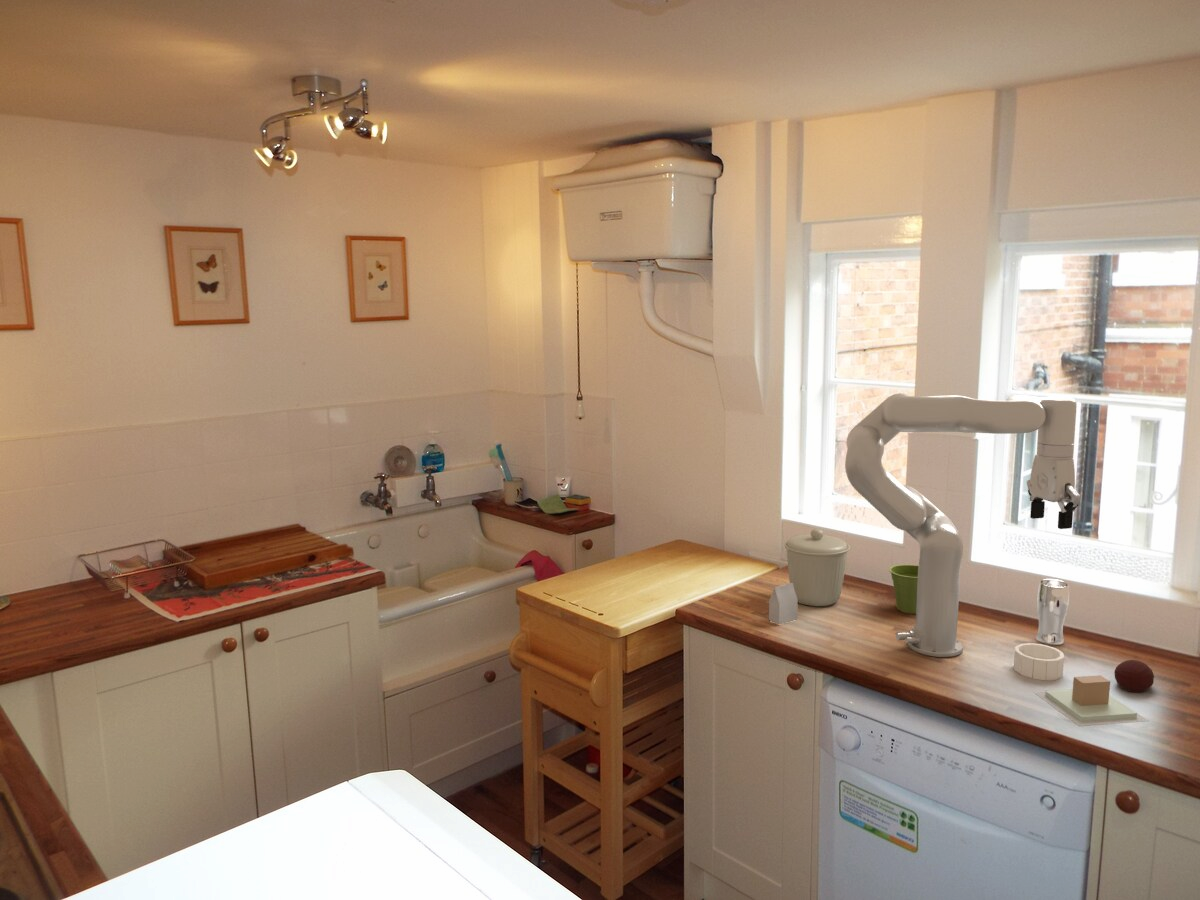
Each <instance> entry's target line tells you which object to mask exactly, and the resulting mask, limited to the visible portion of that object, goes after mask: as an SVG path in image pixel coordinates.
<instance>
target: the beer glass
mask: <svg viewBox="0 0 1200 900" xmlns="http://www.w3.org/2000/svg"><path fill="white" fill-rule="evenodd" d="M1036 597H1037V598H1036V606H1037V607H1036V609H1037V616H1038V630H1037V633H1036V637H1035V639H1036V641H1037V642H1039V643H1040V644H1041V643H1042V644H1043V645H1047V646H1061V645H1062V644H1064V641H1065V640H1064V632H1063V629H1064V624H1065V621H1066V617H1067V613H1068V610H1069V603H1070V584H1069V582H1066V581H1064V580H1061V579H1055V578H1043V579H1040V580H1039V584H1038V588H1037V595H1036Z"/></svg>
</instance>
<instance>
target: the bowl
mask: <svg viewBox="0 0 1200 900" xmlns="http://www.w3.org/2000/svg"><path fill="white" fill-rule="evenodd" d="M1013 656H1014V659H1013V670H1014V671H1016V672H1017V673H1019V674H1020V675H1021V676H1024V677H1028V678H1030V679H1034V680H1035V679H1036V680H1041V681H1054V680H1055V681H1056V680H1059V679H1060V678H1062V677H1063V676H1064V664H1065V654H1064V652H1063V651H1062V650H1059V649H1058V648H1056V647H1052V646H1051V645H1048V644H1043V643H1042V644H1041V643H1032V642H1027V643H1020V644H1018V645H1015V647H1014V655H1013Z"/></svg>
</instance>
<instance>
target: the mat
mask: <svg viewBox="0 0 1200 900" xmlns="http://www.w3.org/2000/svg"><path fill="white" fill-rule="evenodd" d="M1034 694H1035V695H1036V696H1038V697H1039V698H1040V699H1041V700H1042V701H1045V702H1046V703H1047V704H1048V705H1050V706H1051V707H1053V708H1054V709H1056V710H1057V711H1058V712H1059V713H1060V714H1062V715H1063V716H1065V717H1066V718H1068V719H1069V720H1071V722H1073V723H1074V724H1076V725H1077V726H1078V727H1084V726H1087V727H1088V726H1097V725H1098V726H1100V725H1114V724H1127V723H1139V722H1149V720H1148V719H1147V718H1145V717H1144V716H1142V715H1141V714H1140V713H1138V712H1136V713H1137V718H1127V719H1113V720H1100V721H1086V722H1081V721H1080V720H1078V719H1077V718H1075V717H1074V716H1073V715H1071V714H1070V713H1069V712H1067V711H1066V710H1064V709H1063V708H1062V707H1060V706H1059V705H1058V704H1056V703H1055V702H1053V701H1052V700H1051V699H1049V698H1048V697H1047V696H1045V691H1042V692H1034ZM1127 707H1128V708H1130V707H1129V706H1127Z"/></svg>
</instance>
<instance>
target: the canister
mask: <svg viewBox="0 0 1200 900" xmlns="http://www.w3.org/2000/svg"><path fill="white" fill-rule="evenodd" d="M783 546H784V548H785V550H786V559H787V560H786V561H787V570H788V579H789V583H793V586H794V590H795V593H796V596H797V603H800V604H802V605H805V606H810V607H827V606H832V605H834V604H835V603H837V602H838V601H839V599H840V597H841V594H842V589H843V583H844V579H845V571H846V570H845V569H846V564H847V557H848V553H849V551H850V550H851V546H850V544H849V543H847V542H846V541H845V540H843V539H841V538H839V537H836V536H832V535H827V534H824V531H823V529H821V528H813V529H811V531H810V533H806V534H799V535H794V536H792V537H790V538H788V539H786V540H785V541H784V543H783Z"/></svg>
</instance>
